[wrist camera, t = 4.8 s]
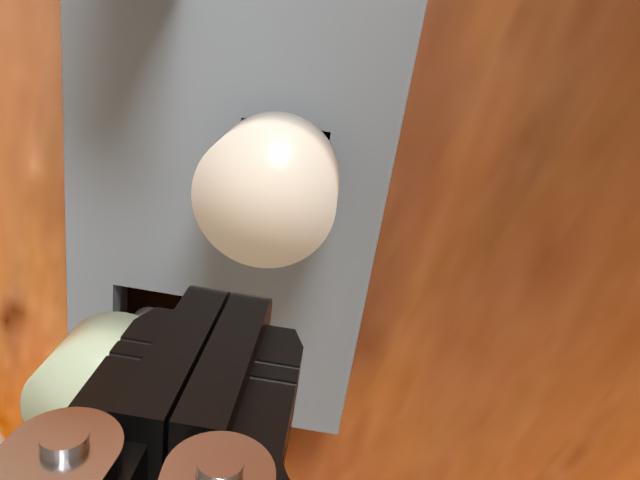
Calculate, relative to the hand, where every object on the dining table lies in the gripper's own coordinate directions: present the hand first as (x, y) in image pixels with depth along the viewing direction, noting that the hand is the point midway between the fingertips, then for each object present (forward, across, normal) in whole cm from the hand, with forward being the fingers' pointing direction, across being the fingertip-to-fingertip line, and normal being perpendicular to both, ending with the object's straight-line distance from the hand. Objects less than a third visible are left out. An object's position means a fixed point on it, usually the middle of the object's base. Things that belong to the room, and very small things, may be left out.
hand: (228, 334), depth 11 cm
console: (+15, +3, -1) cm, 15 cm away
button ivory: (+13, +1, 0) cm, 13 cm away
